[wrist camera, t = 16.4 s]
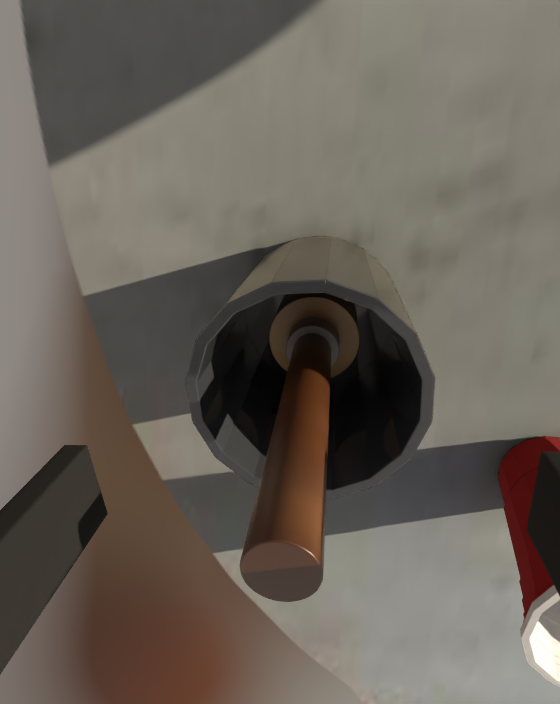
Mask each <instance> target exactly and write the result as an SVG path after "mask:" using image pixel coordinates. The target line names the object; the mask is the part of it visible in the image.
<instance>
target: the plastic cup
mask: <svg viewBox="0 0 560 704" xmlns="http://www.w3.org/2000/svg"><path fill="white" fill-rule="evenodd" d="M541 451H543V452H560V438H558V437H545V436H543V437H539V438H534V439H530V440H526V441H524V442H522V443H521V444H519V445H517V446H515V447H514V448H512V449H511V450H510V451H509V452H508V453H507V455H506V456H505V457H504V458H503V459H502V461H501V464H500V468H499V472H498V475H499V478H498V481H499V485H500V489H501V493H502V497H503V500H504V504H505V506H504V511H505V515H506V519H507V523H508V528H509V532H510V536H511V540H512V544H513V549H514V553H515V557H516V561H517V565H518V570H519V574H520V578H521V579H520V585H521V590H522V594H523V599H522V602H523V607H524V611H525V612H524V621H523V624H522V626H521V639H522V643H523V647H524V650H525V654H526V658H527V662H528V663H529V664H530V665H531V666H532V667H533V668H534V669H536V670H537V671H538V672H539V673H540V674H541V675H542V676H544V677H545V678H546V679H547V680H548V681H549V682H551V683H553V684H556V685H559V686H560V596H559V594H558V592H557V590H556V588H555V586H554V584H553V582H552V580H551V578H550V576H549V574H548V572H547V570H546V568H545V566H544V564H543V562H542V560H541V558H540V556H539V554H538V552H537V550H536V548H535V546H534V544H533V542H532V540H531V538H530V536H529V534H528V532H527V530H526V528H527V523H528V518H529V512H530V507H531V502H532V497H533V491H534V486H535V481H536V476H537V470H538V465H539V460H540V455H541Z"/></svg>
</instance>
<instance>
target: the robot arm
mask: <svg viewBox="0 0 560 704" xmlns="http://www.w3.org/2000/svg"><path fill="white" fill-rule="evenodd" d="M106 515H107V510H106V507H105V504H104V501H103V497H102V494H101V490H100V487H99V484H98V481H97V477H96V474H95V471H94V468H93V464H92V460H91V457H90V454H89V451H88V447H87V446H86V445H85V446H84V445H64V446H63V447H62V448H61V449H60V450H59V451H58V452H57V453H56V454H55V455H54V456H53V457H52V458H51V459H50V460H49V462H47V463H46V465H44V467H43V468H42V469H41V470H40V471H39V472H38V473H37V474H36V475H35V476H34V477H33V478H32V479H31V480H30V481H29V482H28V483H27V484H26V485H25V486H24V487H23V488H22V489H21V490H20V491H19V492H18V493H17V494H16V495H15V496H14V497H13V498H12V499H11V500H10V501H9V502H8V503H7V504H6V505H5V506H4V507H3V508H2V509H1V510H0V674H1V673H2V671H3V669H4V668H5V667H6V665H7V664H8V662H9V661H10V659H11V658H12V656H13V655H14V653H15V651H16V650H17V649H18V647H19V645H20V644H21V642H22V641H23V640H24V638H25V637H26V635H27V634H28V632H29V631H30V629H31V628H32V626H33V625H34V623H35V622H36V620H37V619H38V617H39V616H40V614H41V613H42V611H43V609H44V608H45V607H46V605H47V604H48V602H49V601H50V599H51V598H52V596H53V594H54V593H55V591H56V590H57V589H58V587H59V585H60V584H61V583H62V581H63V580H64V578H65V577H66V575H67V574H68V572H69V571H70V569H71V568H72V566H73V564H74V563H75V562H76V560H77V559H78V557H79V556H80V554H81V553H82V551H83V550H84V548H85V547H86V545H87V544H88V542H89V541H90V539H91V538H92V536H93V535H94V533H95V532H96V530H97V529H98V527H99V526H100V524H101V523H102V521H103V520H104V518H105V517H106ZM526 530H527V532H528V534H529V536H530V538H531V540H532V542H533V544H534V546H535V548H536V550H537V552H538V554H539V556H540V558H541V560H542V562H543V564H544V566H545V568H546V570H547V572H548V574H549V576H550V578H551V580H552V582H553V584H554V586H555V588H556V590H557V592H558V594H559V596H560V452H543V451H541V455H540V460H539V465H538V470H537V476H536V481H535V486H534V491H533V497H532V502H531V507H530V512H529V518H528V523H527V528H526Z"/></svg>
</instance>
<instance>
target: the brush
mask: <svg viewBox="0 0 560 704" xmlns="http://www.w3.org/2000/svg"><path fill="white" fill-rule="evenodd" d="M359 340H360V338H359V328H358V320H357V313H356V309H355V306H354V304H353V303H352V302H349V301H346V300H343V299H340V298H337V297H335V296H332V295H329V294H326V293H309V294H286V295H285V297H284V298H283V300H282V301H281V303H280V305H279V308H278V310H277V313H276V315H275V317H274V320H273V322H272V324H271V328H270V333H269V343H270V348H271V351H272V354H273V356H274V358H275V359H276V361H277V362H278V363H279V365H280V366H281V367H282V368H283V369H284V370H286V371H287V375H286V379H285V383H284V387H283V391H282V395H281V399H280V403H279V407H278V411H277V415H276V419H275V424H274V428H273V432H272V436H271V440H270V444H269V448H268V452H267V456H266V460H265V464H264V468H263V472H262V476H261V480H260V484H259V488H258V492H257V496H256V500H255V504H254V508H253V512H252V516H251V520H250V524H249V528H248V532H247V536H246V540H245V544H244V549H243V553H242V557H241V561H240V571H241V575H242V577H243V579H244V581H245V582H246V584H247V585H248V586H249V587H250V588H251V589H252V590H253V591H255V592H256V593H258V594H259V595H261V596H263V597H266V598H268V599H272V600H276V601H283V602H291V601H298V600H302V599H305V598H307V597H309V596H311V595H312V594H314V593H315V592H316V591H317V590H318V588H319V587H320V585H321V583H322V580H323V566H324V539H325V512H326V485H327V458H328V431H329V405H330V378H332V377H334V376H336V375H338V374H340V373H342V372H343V371H344V370H345V369H347V368H348V367H349V365H350V364H351V363H352V362H353V360H354V358H355V356H356V354H357V352H358V348H359Z"/></svg>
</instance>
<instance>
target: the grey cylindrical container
mask: <svg viewBox="0 0 560 704" xmlns="http://www.w3.org/2000/svg"><path fill="white" fill-rule="evenodd" d="M309 293H326V294H329V295H332V296H335V297H337V298H340V299H343V300H346V301H349V302H352V303H353V304H354V306H355V309H356V313H357V320H358V328H359V338H360V340H359V348H358V352H357V354H356V356H355V358H354V360H353V362H352V363H351V364H350V365H349V367H348V368H347V369H345V370H344V371H343V372H342V373H340V374H338V375H336V376H334V377H332V378H330V405H329V431H328V458H327V485H326V498H332V499H333V498H338V497H341V496H344V495H348V494H351V493H354V492H357V491H361V490H364V489H367V488H371V487H374V486H376V485H378V484H379V483H381V482H382V481H383V480H385V479H386V478H387V477H388V476H390V475H391V474H392V473H394V472H395V471H396V470H398V469H399V468H400V467H402V466H403V465H404V464H406V463H407V462H408V461H410V459H411V458H412V456H413V455H414V453H415V451H416V449H417V448H418V446H419V444H420V442H421V441H422V439H423V437H424V435H425V434H426V432H427V430H428V428H429V427H430V425H431V422H432V418H433V403H434V389H435V376H434V373H433V371H432V368H431V366H430V364H429V361H428V359H427V356H426V354H425V351H424V349H423V347H422V344H421V342H420V339H419V337H418V335H417V332H416V330H415V328H414V326H413V324H412V322H411V320H410V318H409V315H408V313H407V311H406V309H405V307H404V305H403V303H402V300H401V298H400V296H399V294H398V292H397V290H396V288H395V286H394V283H393V281H392V279H391V277H390V275H389V273H388V271H387V270H386V269H385V268H384V267H383V266H382V265H381V264H380V263H379V262H378V261H377V260H376V259H375V258H374V257H373V256H372V255H371V254H370V253H368V252H367V251H366V250H365V249H363V248H361V247H359V246H357V245H355V244H353V243H351V242H348V241H345V240H342V239H338V238H333V237H326V236H313V237H305V238H300V239H295V240H293V241H290V242H288V243H286V244H283V245H281V246H280V247H278V248H276V249H274V250H273V251H271V252H269V253H267V254H266V255H265V256H264V258H263V259H262V260H261V261H260V262H259V263H258V265H257V266H256V267H255V268H254V269H253V271H252V272H251V273H250V274H249V275H248V276H247V278H246V279H245V280H244V281H243V283H242V284H241V285H240V286H239V287H238V289H237V290H236V291H235V292H234V293H233V295H232V296H231V297H230V298H229V300H228V301H227V302H226V303H225V304H224V306H223V307H222V308H221V309H220V311H219V312H218V313H217V314H216V315H215V317H214V318H213V319H212V320H211V321H210V323H209V324H208V325H207V326H206V328H205V329H204V330H203V331H202V332H201V334H200V335H199V336H198V337H197V339H196V341H195V345H194V349H193V352H192V356H191V360H190V364H189V368H188V371H187V375H186V379H185V383H186V389H187V394H188V400H189V405H190V411H191V416H192V421H193V424H194V425H195V427H196V428H197V430H198V431H199V433H200V435H201V436H202V438H203V439H204V441H205V442H206V444H207V445H208V447H209V448H210V450H211V452H212V453H213V455H214V456H215V457H216V458H217V459H218V460H219V461H221V462H222V463H223V464H225V465H226V466H227V467H229V468H230V469H231V470H232V471H234V472H235V473H236V474H238V475H239V476H240V477H242V478H243V479H244V480H246V481H247V482H248V483H250V484H253V485H256V486H259V484H260V480H261V476H262V472H263V468H264V464H265V460H266V456H267V452H268V448H269V444H270V440H271V436H272V432H273V428H274V424H275V419H276V415H277V411H278V407H279V403H280V399H281V395H282V391H283V387H284V383H285V379H286V375H287V371H286V370H284V369H283V368H282V367H281V366H280V365H279V363H278V362H277V361H276V359H275V358H274V356H273V354H272V351H271V348H270V343H269V333H270V328H271V324H272V322H273V320H274V317H275V315H276V313H277V310H278V308H279V305H280V303H281V301H282V300H283V298H284V297H285V295H286V294H309Z"/></svg>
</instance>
